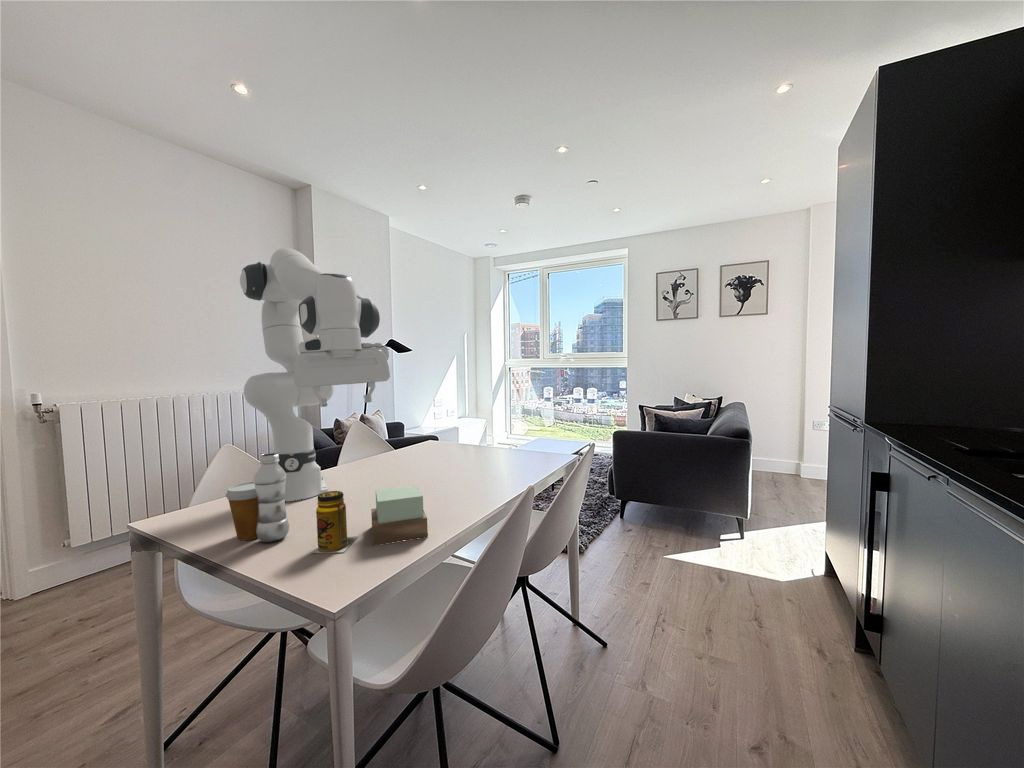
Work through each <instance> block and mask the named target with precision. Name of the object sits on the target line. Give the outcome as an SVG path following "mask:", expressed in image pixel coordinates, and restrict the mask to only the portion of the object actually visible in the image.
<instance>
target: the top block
mask: <svg viewBox="0 0 1024 768" xmlns="http://www.w3.org/2000/svg"><path fill="white" fill-rule="evenodd" d="M375 508H376V511H377V518H378V524H381V523H388V522H394V521H401V520H408V519H415V518H422V517H424V515H423V510H424V496H423V494H422V491H421V490H420V488H419V486H418V484H415V485H414V484H413V485H406V486H405V485H404V486H396V487H388V488H383V489H382V488H380V489H375Z"/></svg>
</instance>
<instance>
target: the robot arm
mask: <svg viewBox="0 0 1024 768" xmlns="http://www.w3.org/2000/svg"><path fill="white" fill-rule="evenodd" d="M353 280H354V279H353V278H352V277H350V276H349V275H345V274H340V273H339V274H338V273H329V272H328V273H327V272H325V271H323V270H322V269H321V268H319V267H317V266H316V265H315V264H314V263H313V262H312V261H311V260H310V259H309V258H308V257H307V256H306V255H305V254H303V253H302V252H300V251H298V250H296V249H294V248H290V247H282V248H279V249H277V250H275V251H274V253H272V255H271V256H270V260H269V263H268V264H267V263H262V262H261V261H259V262H256V263H252V264H248V265H246V266H244V267H243V268H242V270H241V274H240V276H239V285H240V288H241V289H242V291H243V294H244V296H245V297H246V298H248V299H251V300H253V301H259V302H261V301H264V302H263V303H262V307H261V329H262V334H263V335H262V337H263V343H264V351H265V355H267V357H268V358H269V359H270V361H273V362H275V363H277V364H280V365H281V366H282V367H283V368H284V369H285V370H286V371H285V372H284V371H283V372H282V371H281V372H264V373H260V374H256V375H251V376H250V377H249V378H248V379H247V380H246V382H245V384H244V387H243V396H244V399H245V400H246V402H247V403H248V404H249V405H250V406H251V407H252V408H254V409H256V410H257V411H259V412H260V413H261V414H262V415H263V416H264V417H265V418H266V420H267V421H268V423H269V426H270V428H271V432H272V439H273V440H272V441H273V453H279V462H278V464H279V465H280V466H281V467H282V468H283V470H284V471H285V473H286V485H285V498H284V499H285V501H286V502H295V500H296V501H301V499H302V500H305V499H310V498H313V497H315V496H318V495H320V494H321V493H324V492H329V491H330V490H329V487H328V485H327V482H325V480H324V478H323V476H322V473H321V472H322V471H321V466H319V465H320V464H317V462H316V458H317V457H316V455H317V453H316V449H315V447H314V428H313V426H312V424H311V423H310V422H309V421H308V420H306V419H303V418H301V417H299V416H297V415H296V414H295V412H294V408H298V407H308V406H316V405H319V407H320V408H323V407H324V408H325V407H328V402H329V401H330V400H331V398H332V397H333V394H334V388H335V386H341V385H342V386H343V385H354V384H367V388H369V390H368V392H367V394H363V403H372V402H373V401H372V399H373V398H372V395H373V392H374V391H375V389H376V383H380V382H381V383H382V382H383V383H384V382H387V381H389V380H390V378H391V371H390V365H389V362H388V360H389V357H390V354H389V353H390V352H389V348H388V347H387V346H386V345H384V344H382V342H374V343H371V342H366V343H364V342H362V338H364V339H365V338H368V337H370V336H372V334H374V333H375V332H376V330H377V329H378V328H379V326H380V321H381V319H380V318H381V316H380V312H379V309H378V307H377V306H376V304H375V303H374V302H373V301H372V300H371V299H370V298H365V297H364V298H363V297H361V296H360V295H359V294H357V291H356V286H355V283H354V281H353ZM302 329H304V330H305V332H306V333H308V334H309V335H313V336H317V337H313V338H310V339H307V340H304V336H303V330H302Z"/></svg>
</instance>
